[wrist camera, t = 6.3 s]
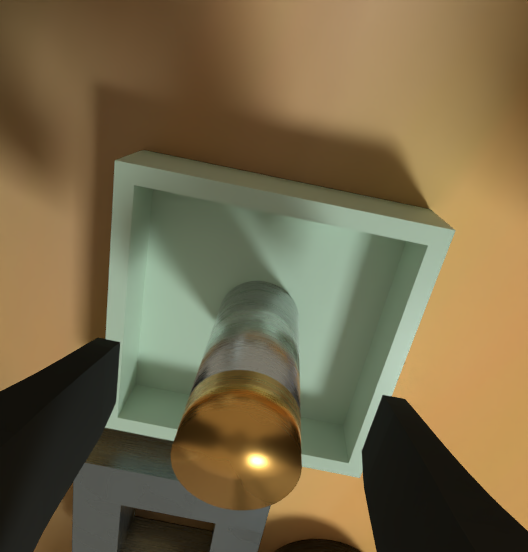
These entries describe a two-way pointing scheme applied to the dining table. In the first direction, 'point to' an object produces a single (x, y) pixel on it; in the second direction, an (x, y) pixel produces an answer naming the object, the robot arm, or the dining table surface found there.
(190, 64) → the dining table surface
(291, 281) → the tray
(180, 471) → the pin
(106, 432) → the block
